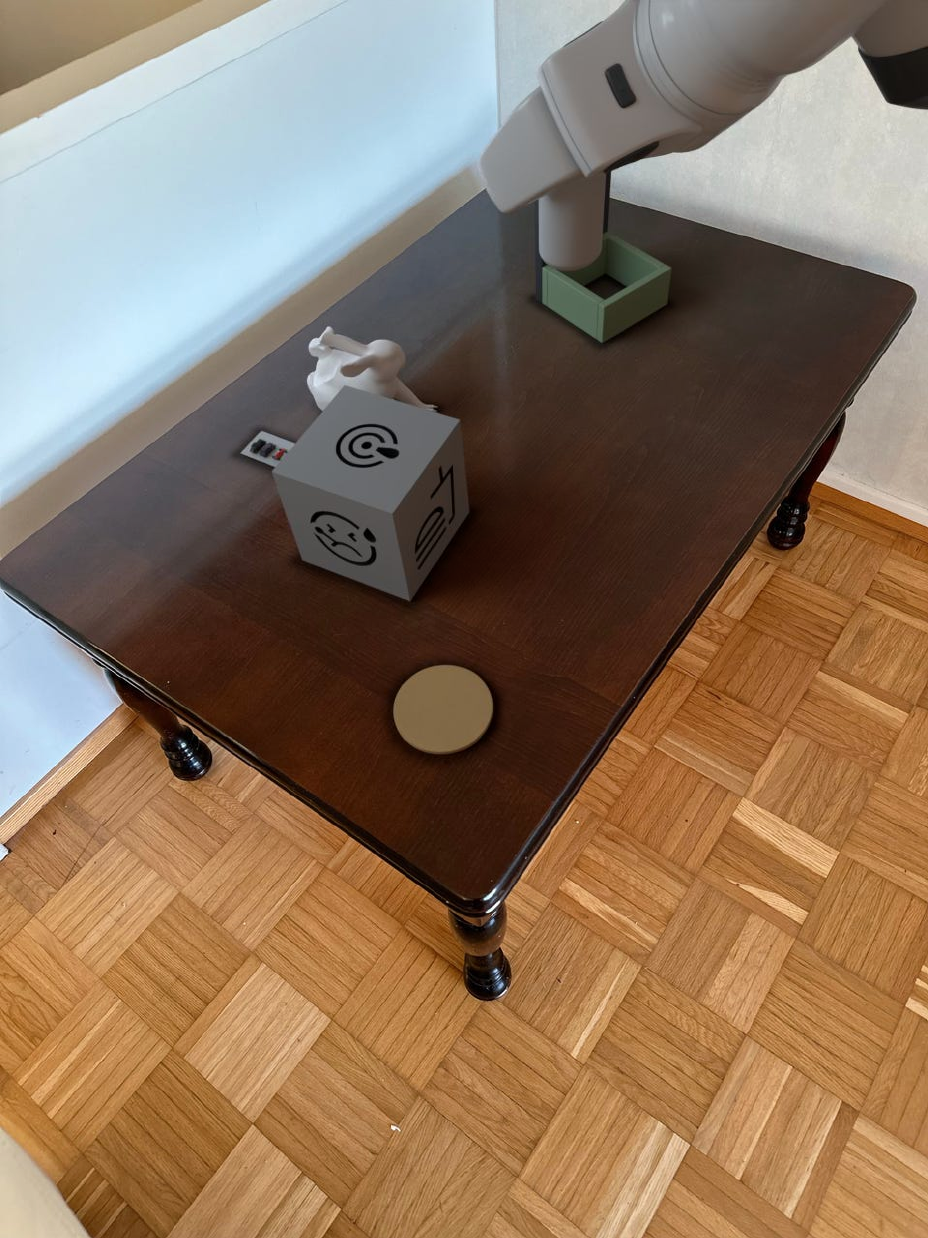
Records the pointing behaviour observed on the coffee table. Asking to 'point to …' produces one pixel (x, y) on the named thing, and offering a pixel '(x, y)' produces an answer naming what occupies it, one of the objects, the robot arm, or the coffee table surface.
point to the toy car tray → (268, 448)
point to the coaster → (443, 709)
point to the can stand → (615, 259)
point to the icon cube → (375, 490)
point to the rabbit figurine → (358, 369)
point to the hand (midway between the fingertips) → (565, 168)
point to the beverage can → (572, 224)
